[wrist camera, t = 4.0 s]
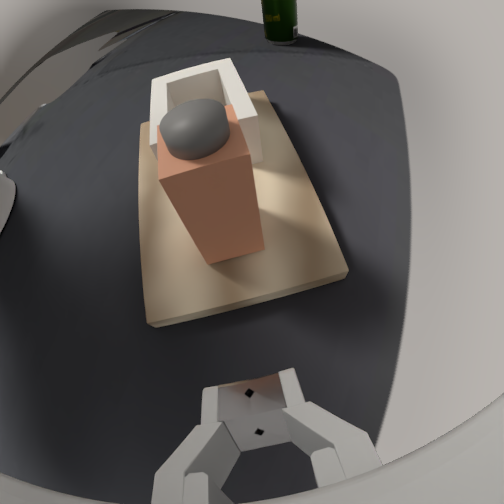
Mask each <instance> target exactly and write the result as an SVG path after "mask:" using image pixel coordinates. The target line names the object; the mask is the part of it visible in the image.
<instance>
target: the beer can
mask: <svg viewBox="0 0 504 504" xmlns="http://www.w3.org/2000/svg"><path fill="white" fill-rule="evenodd" d="M261 4H262V13H263V22H264V32H265V38H266V40H267V41H268V43H270V44H274V45H289V44H293V43H295V42H296V40H297V38H298V28H297V3H296V0H261Z"/></svg>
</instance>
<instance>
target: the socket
mask: <svg viewBox="0 0 504 504" xmlns="http://www.w3.org/2000/svg"><path fill="white" fill-rule="evenodd" d="M195 99H213V100H216V101H219V102H220V103H222V104H223V105H224V106H226V105H230V104H232V105H233V108H234V111H235V113H236V116H237V119H238V122H239V124H240V127H241V130H242V132H243V135H244V138H245V141H246V143H247V146H248V149H249V152H250V156H251V162H252V164H256V163H260V162H263V156H262V147H261V138H260V130H259V121H258V115H257V112H256V110H255V108H254V106H253V104H252V102H251V100H250V98H249V96H248V93H247V91H246V89H245V87H244V85H243V83H242V81H241V79H240V77H239V75H238V73H237V71H236V69H235V67H234V65H233V63H232V61H231V59H230V58H227V59H223V60H218V61H214V62H210V63H206V64H202V65H198V66H194V67H191V68H187V69H184V70H180V71H177V72H174V73H171V74H167V75H164V76H161V77H158V78H155V79H152V88H151V107H150V147H151V149H152V151H153V153H154V155H155V157H156V159H157V161H158V153H157V125H160V122H161V120H162V118H163V117H164V116H165V114H167V113H168V112H169V111H170V110H171V109H173V108H174V107H176V106H178V105H180V104H182V103H184V102H187V101H190V100H195Z"/></svg>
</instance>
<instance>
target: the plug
mask: <svg viewBox="0 0 504 504" xmlns="http://www.w3.org/2000/svg"><path fill="white" fill-rule="evenodd" d="M157 153H158V179H159V182H160V183H161V185H162V187H163V189H164V191H165V192H166V194H167V196H168V198H169V199H170V201H171V203H172V205H173V207H174V208H175V210H176V212H177V214H178V215H179V217H180V219H181V221H182V222H183V224H184V226H185V227H186V229H187V231H188V233H189V234H190V236H191V238H192V239H193V241H194V243H195V245H196V246H197V248H198V250H199V251H200V253H201V255H202V256H203V258H204V260H205V261H206V263H207V265H209V264H212V263H216V262H220V261H224V260H227V259H231V258H235V257H239V256H242V255H246V254H250V253H254V252H257V251H261V250H265V247H264V240H263V234H262V227H261V220H260V214H259V207H258V201H257V194H256V188H255V181H254V175H253V168H252V162H251V156H250V152H249V149H248V146H247V143H246V141H245V138H244V135H243V132H242V130H241V127H240V124H239V122H238V119H237V116H236V113H235V111H234V108H233V105H232V104H230V105H226V106H224V105H223V104H222V103H220V102H219V101H216V100H213V99H195V100H190V101H187V102H184V103H182V104H180V105H178V106H176V107H174V108H173V109H171V110H170V111H169V112H168V113H167V114H165V116H164V117H163V118H162V120H161V122H160V125H157Z"/></svg>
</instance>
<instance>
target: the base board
mask: <svg viewBox="0 0 504 504" xmlns="http://www.w3.org/2000/svg"><path fill="white" fill-rule="evenodd" d="M248 96H249V98H250V100H251V102H252V104H253V106H254V108H255V110H256V112H257V115H258V121H259V130H260V138H261V147H262V156H263V162H260V163H256V164H252V168H253V175H254V181H255V188H256V194H257V201H258V207H259V214H260V220H261V227H262V234H263V240H264V247H265V250H261V251H257V252H254V253H250V254H246V255H242V256H239V257H235V258H231V259H227V260H224V261H220V262H216V263H212V264H209V265H207V263H206V261H205V260H204V258H203V256H202V255H201V253H200V251H199V250H198V248H197V246H196V245H195V243H194V241H193V239H192V238H191V236H190V234H189V233H188V231H187V229H186V227H185V226H184V224H183V222H182V221H181V219H180V217H179V215H178V214H177V212H176V210H175V208H174V207H173V205H172V203H171V201H170V199H169V198H168V196H167V194H166V192H165V191H164V189H163V187H162V185H161V183H160V182H159V179H158V161H157V159H156V157H155V155H154V153H153V151H152V149H151V147H150V121H148V122H145V123H142V124H141V130H140V150H139V233H140V253H141V268H142V281H143V292H144V302H145V311H146V319H147V324H149V325H151V326H153V327H155V328H158V327H162V326H167V325H171V324H176V323H180V322H185V321H189V320H193V319H197V318H202V317H206V316H210V315H214V314H218V313H222V312H226V311H230V310H234V309H238V308H242V307H246V306H250V305H254V304H257V303H261V302H265V301H269V300H272V299H276V298H280V297H283V296H287V295H290V294H294V293H297V292H301V291H304V290H308V289H311V288H315V287H318V286H321V285H325V284H328V283H331V282H335V281H338V280H341V279H345V277H346V275H347V273H348V271H349V269H348V267H347V264H346V262H345V259H344V257H343V254H342V252H341V249H340V247H339V245H338V242H337V240H336V237H335V235H334V233H333V230H332V228H331V226H330V223H329V221H328V219H327V216H326V214H325V212H324V210H323V207H322V205H321V203H320V201H319V199H318V196H317V194H316V192H315V190H314V188H313V186H312V183H311V181H310V179H309V177H308V175H307V173H306V171H305V169H304V167H303V165H302V163H301V161H300V159H299V157H298V155H297V153H296V151H295V149H294V147H293V145H292V143H291V141H290V139H289V137H288V135H287V133H286V131H285V129H284V127H283V125H282V123H281V122H280V120H279V118H278V116H277V114H276V112H275V111H274V109H273V107H272V105H271V103H270V101H269V100H268V98H267V96H266V94H265V93H264V91H263V90H262V91H257V92H252V93H248Z"/></svg>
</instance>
